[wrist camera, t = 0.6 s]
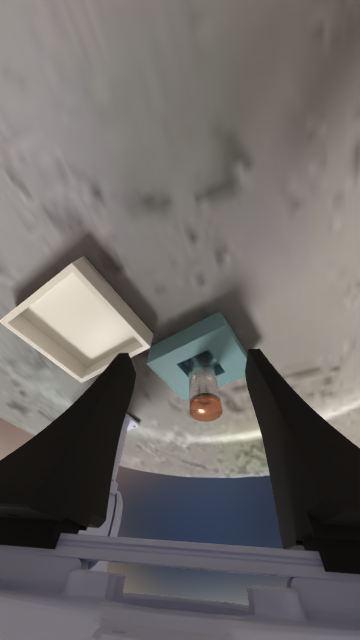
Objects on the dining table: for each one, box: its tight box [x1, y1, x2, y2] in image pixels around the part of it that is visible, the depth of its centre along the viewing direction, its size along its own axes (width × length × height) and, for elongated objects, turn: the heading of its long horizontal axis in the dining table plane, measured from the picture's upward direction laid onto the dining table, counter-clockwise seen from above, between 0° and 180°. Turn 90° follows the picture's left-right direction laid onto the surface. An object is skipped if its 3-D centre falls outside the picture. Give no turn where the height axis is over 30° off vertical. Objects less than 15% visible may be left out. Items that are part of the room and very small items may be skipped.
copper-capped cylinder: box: [188, 351, 222, 421], centre depth 21 cm, size 3×3×7 cm
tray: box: [0, 256, 153, 383], centre depth 22 cm, size 11×11×2 cm
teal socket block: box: [146, 311, 247, 400], centre depth 24 cm, size 10×8×3 cm
